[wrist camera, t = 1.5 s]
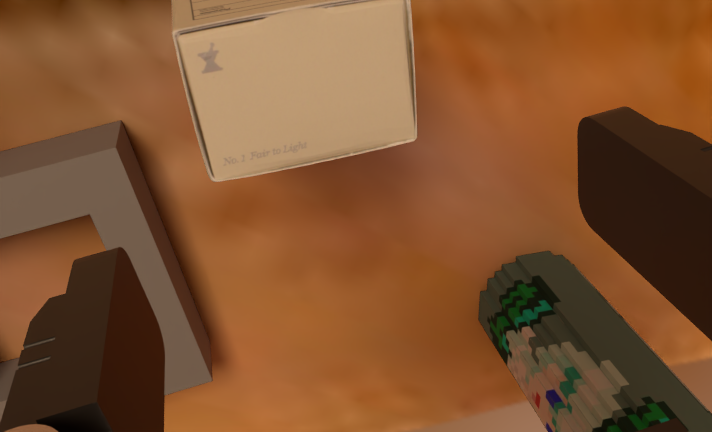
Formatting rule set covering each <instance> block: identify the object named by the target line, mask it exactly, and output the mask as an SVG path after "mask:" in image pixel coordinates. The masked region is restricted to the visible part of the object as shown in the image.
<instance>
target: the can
mask: <svg viewBox="0 0 712 432" xmlns="http://www.w3.org/2000/svg"><path fill="white" fill-rule="evenodd" d="M478 320H479V321H480V323H481V324H482V326H483V328H484V330H485V331H486V333H487V335H488V336H489V338H490V339H491V341H492V343H493V344H494V346H495V347H496V349H497V351H498V352H499V354H500V355H501V357H502V359H503V360H504V362H505V363H506V365H507V367H508V368H509V370H510V372H511V373H512V375H513V376H514V378H515V380H516V381H517V383H518V384H519V386H520V388H521V389H522V391H523V392H524V394H525V396H526V397H527V399H528V400H529V402H530V404H531V405H532V407H533V408H534V410H535V412H536V413H537V415H538V417H539V418H540V420H541V421H542V423H543V425H544V426H545V428H546V429H547V431H548V432H636V431H639V430H642V429H645V428H648V427H651V426H654V425H656V424H659V423H662V422H665V421H668V420H671V419H674V418H677V419H678V420H679V421H680V422H681V424H682V425H683V426H684V427H685V428H686V429H687V430H688V432H712V413H711V412H710V411H709V410H708V409H707V408H706V407H705V406H704V405H703V404H702V403H701V402H700V401H699V399H698V398H697V397H696V396H695V395H694V394H693V393H692V392H691V391H690V390H689V389H688V388H687V386H686V385H685V384H684V383H683V382H682V381H681V380H680V379H679V378H678V377H677V376H676V375H675V374H674V373H673V372H672V370H671V369H670V368H669V367H668V366H667V365H666V364H665V363H664V362H663V361H662V360H661V358H660V357H659V356H658V355H657V354H656V353H655V352H654V351H653V350H652V349H651V348H650V347H649V345H648V344H647V343H646V342H645V341H644V340H643V339H642V338H641V337H640V336H639V335H638V334H637V333H636V331H635V330H634V329H633V328H632V327H631V326H630V325H629V324H628V323H627V322H626V321H625V320H624V319H623V317H622V316H621V315H620V314H619V313H618V312H617V311H616V310H615V309H614V308H613V307H612V306H611V304H610V303H609V302H608V301H607V300H606V299H605V298H604V297H603V296H602V295H601V294H600V293H599V292H598V290H597V289H596V288H595V287H594V286H593V285H592V284H591V283H590V282H589V281H588V280H587V279H586V278H585V276H584V275H583V274H582V273H581V272H580V271H579V270H578V269H577V268H576V267H575V266H574V265H573V264H571V263H570V262H569V260H568V259H567V260H566V259H565V258H564V256H563V255H556V256H554V255H553V254H552V253H551V252H550V251H545V252H539V253H533V254H527V255H521V256H516V262H515V263H509V264H503V265H502V271H496V272H495V277H494V278H489V279H488V282H487V290H486V291H481V292H480V303H479V319H478Z"/></svg>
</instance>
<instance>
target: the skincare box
mask: <svg viewBox="0 0 712 432" xmlns="http://www.w3.org/2000/svg"><path fill="white" fill-rule="evenodd" d="M171 2H172V37H173V41H174V45H175V49H176V54H177V58H178V63H179V67H180V72H181V76H182V80H183V85H184V89H185V93H186V97H187V101H188V105H189V109H190V113H191V117H192V121H193V124H194V128H195V132H196V136H197V139H198V143H199V146H200V150H201V153H202V157H203V160H204V164H205V167H206V170H207V174H208V176H209V178H210V179H211V180H212V181H214V182H219V181H226V180H232V179H239V178H244V177H251V176H256V175H261V174H266V173H272V172H277V171H281V170H286V169H292V168H297V167H302V166H307V165H312V164H315V163H320V162H325V161H330V160H335V159H340V158H343V157H348V156H353V155H358V154H362V153H366V152H370V151H375V150H380V149H384V148H388V147H393V146H397V145H401V144H405V143H409V142H413V141H415V140H416V139H417V116H416V84H415V65H414V42H413V28H412V13H411V0H172V1H171Z"/></svg>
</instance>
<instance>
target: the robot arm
mask: <svg viewBox="0 0 712 432" xmlns="http://www.w3.org/2000/svg"><path fill="white" fill-rule="evenodd" d="M578 198H579V204H580V208H581V211H582V214H583V216H584V218H585V220H586V222H587V223H588V225H589V226H590V227H591V228H592V230H594V231H595V232H596V233H597V234H598V235H599V236H600V237H601V238H602V239H603V240H604V241H605V242H606V243H607V244H609V245H610V246H611V247H612V248H613V249H614V250H615V251H616V252H617V253H618V254H619V255H620V256H621V257H622V258H624V259H625V260H626V261H627V262H628V263H629V264H630V265H631V266H632V267H633V268H634V269H635V270H636V271H637V272H638V273H640V274H641V275H642V276H643V277H644V278H645V279H646V280H647V281H648V282H649V283H650V284H651V285H652V286H653V287H655V288H656V289H657V290H658V291H659V292H660V293H661V294H662V295H663V296H664V297H665V298H666V299H667V300H668V301H670V302H671V303H672V304H673V305H674V306H675V307H676V308H677V309H678V310H679V311H680V312H681V313H682V314H683V315H684V316H686V317H687V318H688V319H689V320H690V321H691V322H692V323H693V324H694V325H695V326H696V327H697V328H698V329H699V330H701V331H702V332H703V333H704V334H705V335H706V336H707V337H708V338H709V339H710V340H711V341H712V144H710V143H708V142H706V141H705V140H703V139H701V138H699V137H698V136H696V135H694V134H692V133H690V132H687V131H683V130H679V129H675V128H671V127H668V126H664V125H658V124H656V123H655V122H653V121H651V120H649V119H648V118H646V117H644V116H643V115H641V114H639V113H638V112H636V111H634V110H633V109H631V108H629V107H620V108H616V109H613V110H609V111H606V112H602V113H599V114H595V115H592V116H588V117H585V118H583V119H582V120H581V121H580V123H579V126H578ZM23 346H24V350H22V351H21V355H20V358H19V361H18V370H16V372H15V375H14V378H13V382H12V385H11V388H10V392H9V395H8V398H7V402H6V405H5V408H4V412H3V415H2V419H1V422H0V432H164V390H165V348H164V342H163V337H162V333H161V330H160V326H159V323H158V321H157V318H156V316H155V314H154V311H153V309H152V307H151V305H150V302H149V300H148V298H147V296H146V293H145V291H144V289H143V287H142V285H141V282H140V280H139V278H138V276H137V273H136V271H135V269H134V267H133V264H132V262H131V260H130V258H129V256H128V254H127V252H126V251H125V250H124V249H123V248H122V247H118V248H114V249H111V250H107V251H104V252H100V253H97V254H93V255H90V256H86V257H82V258H79V259H76V260H74V262H73V265H72V269H71V273H70V277H69V282H68V286H67V290H66V294H62V295H59V296H55V297H52V298H49V299H48V301H47V302H46V303H45V304H44V306H43V307H42V308H41V309H40V311H39V312H38V313H37V314H36V316H35V317H34V318H33V319H32V321H31V322H30V325H29V328H28V331H27V335H26V338H25V341H24V345H23ZM636 432H688V430H687V429H686V428H685V427H684V426H683V425H682V424H681V422H680V421H679V420H678V419H677V418H674V419H671V420H668V421H665V422H662V423H659V424H656V425H654V426H651V427H648V428H645V429H642V430H639V431H636Z"/></svg>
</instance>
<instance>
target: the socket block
mask: <svg viewBox="0 0 712 432" xmlns="http://www.w3.org/2000/svg"><path fill="white" fill-rule="evenodd" d="M89 214H90V216H91V218H92V220H93V222H94V224H95V227H96V229H97V231H98V233H99V235H100V237H101V239H102V242H103V244H104V246H105V248H106V250H111V249H114V248H118V247H122V248H123V249H124V250H125V251H126V252H127V254H128V256H129V258H130V260H131V262H132V264H133V267H134V269H135V271H136V273H137V276H138V278H139V280H140V282H141V285H142V287H143V289H144V291H145V293H146V296H147V298H148V300H149V302H150V305H151V307H152V309H153V311H154V314H155V316H156V318H157V321H158V323H159V326H160V330H161V333H162V337H163V342H164V348H165V390H164V395H168V394H171V393H174V392H177V391H181V390H184V389H187V388H191V387H194V386H197V385H201V384H204V383H207V382H211V381H213V379H212V363H211V347H210V340H209V338H208V335H207V333H206V330H205V328H204V325H203V323H202V320H201V318H200V315H199V313H198V311H197V308H196V306H195V303H194V301H193V298H192V296H191V293H190V291H189V288H188V286H187V283H186V281H185V278H184V276H183V273H182V271H181V268H180V266H179V263H178V261H177V258H176V256H175V253H174V251H173V248H172V246H171V243H170V241H169V238H168V236H167V233H166V231H165V228H164V226H163V223H162V221H161V218H160V216H159V213H158V211H157V208H156V206H155V203H154V201H153V198H152V196H151V193H150V191H149V188H148V186H147V183H146V181H145V178H144V176H143V173H142V171H141V168H140V166H139V163H138V161H137V158H136V156H135V153H134V151H133V148H132V146H131V143H130V141H129V138H128V136H127V133H126V131H125V128H124V126H123V123H122V121H117V122H113V123H109V124H105V125H102V126H98V127H94V128H90V129H86V130H82V131H78V132H75V133H71V134H67V135H63V136H59V137H55V138H51V139H48V140H44V141H40V142H36V143H32V144H28V145H25V146H21V147H17V148H13V149H9V150H5V151H1V152H0V239H1V238H4V237H8V236H12V235H15V234H19V233H23V232H26V231H30V230H34V229H37V228H41V227H45V226H48V225H52V224H56V223H59V222H63V221H67V220H70V219H74V218H78V217H81V216H85V215H89ZM18 361H19V358H16V359H13V360H9V361H6V362H3V363H0V422H1V419H2V415H3V412H4V408H5V405H6V402H7V398H8V395H9V392H10V388H11V385H12V382H13V378H14V375H15V372H16V370H18Z"/></svg>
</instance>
